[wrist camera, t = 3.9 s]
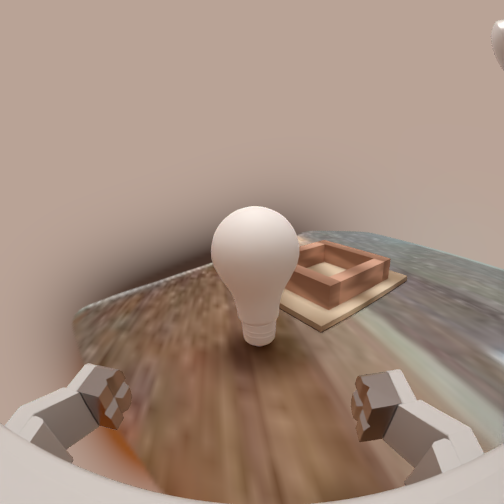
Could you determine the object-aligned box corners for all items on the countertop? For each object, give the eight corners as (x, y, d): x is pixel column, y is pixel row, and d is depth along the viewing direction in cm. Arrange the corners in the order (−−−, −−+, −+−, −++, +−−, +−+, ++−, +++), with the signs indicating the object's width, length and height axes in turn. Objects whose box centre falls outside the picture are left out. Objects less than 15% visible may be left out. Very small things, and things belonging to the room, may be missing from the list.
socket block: (327, 254, 42) (327, 235, 42) (406, 280, 31) (409, 256, 30) (237, 282, 34) (235, 258, 33) (321, 332, 23) (323, 300, 22)
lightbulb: (285, 319, 25) (283, 198, 22) (308, 359, 20) (313, 210, 16) (219, 329, 24) (206, 204, 21) (226, 373, 19) (208, 218, 15)
